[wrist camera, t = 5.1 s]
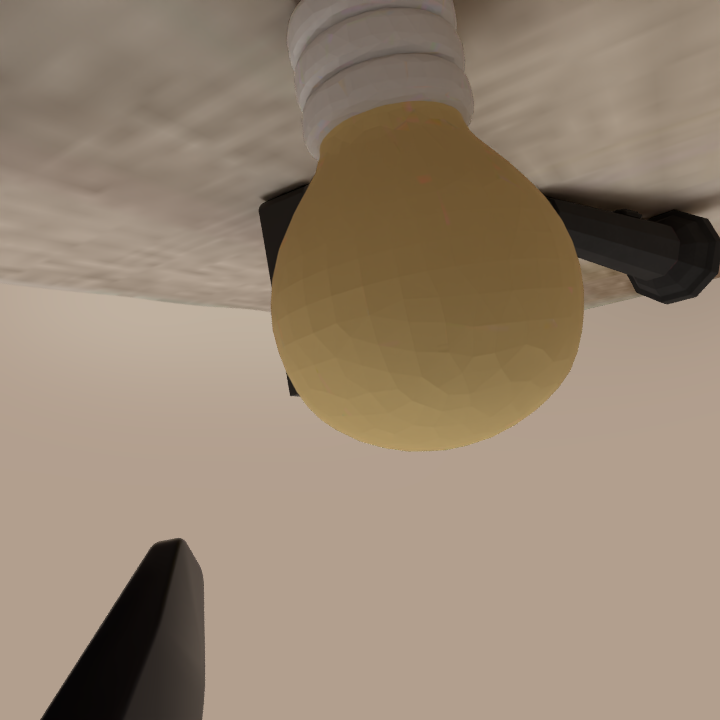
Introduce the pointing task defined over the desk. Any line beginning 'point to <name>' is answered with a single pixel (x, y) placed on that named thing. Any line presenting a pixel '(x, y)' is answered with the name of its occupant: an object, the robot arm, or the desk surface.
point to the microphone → (646, 248)
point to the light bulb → (414, 241)
